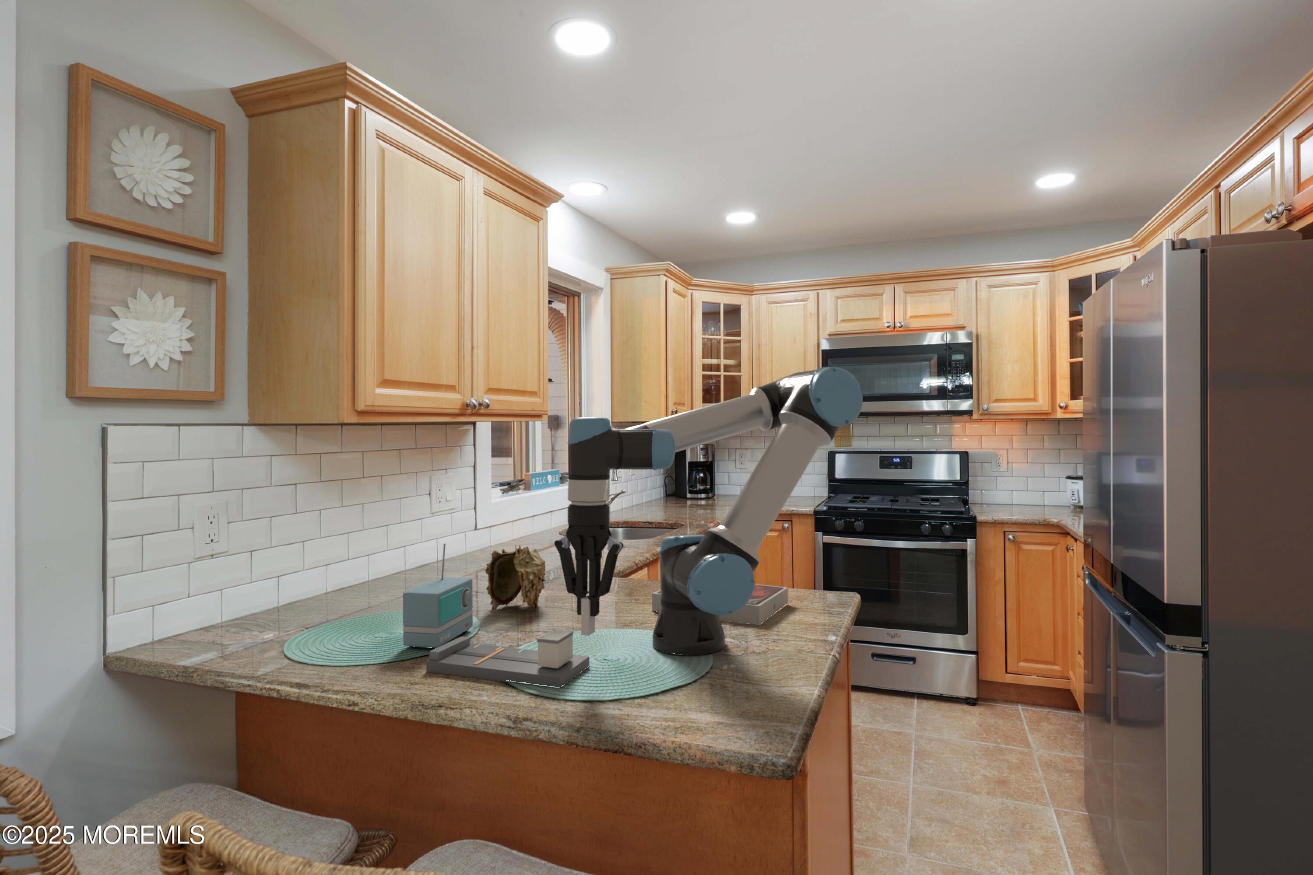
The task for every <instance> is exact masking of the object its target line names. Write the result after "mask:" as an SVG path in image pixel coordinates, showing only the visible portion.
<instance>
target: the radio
mask: <svg viewBox="0 0 1313 875" xmlns="http://www.w3.org/2000/svg"><path fill="white" fill-rule="evenodd" d="M442 549H443V550H442V562H441V563H442V564H441V576H440V577H438V578H436V579H434V580H431V581H429V582H426V583H424V584H422V585H419V586H416V587H414V588H411V589H408V590H407V591H404V592H403V593H402V642H403V643H402V645H403V646H405V647H410V646H415V647H432V648H438V647H440V646H442V645H444V644H446V643H449V642H451V641H452V640H454V639H456V638H457V637H458V636H459V635H461V634H464V633H463V632H466V633H467V632H468V630H470V629H472V628H473V626H474V624H473V622H474V620H473V619H474V618H473V616H474V615H473V610H474V609H473V607H474V606H473V605H474V604H473V603H474V602H473V596H474V595H473V594H474V593H473V579H472V578H470V577H467V578H466V577H447V576H446V577H444V570H445V568H444V567H445V555H446V543H443V548H442Z"/></svg>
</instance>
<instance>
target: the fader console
mask: <svg viewBox="0 0 1313 875" xmlns="http://www.w3.org/2000/svg"><path fill="white" fill-rule="evenodd" d="M425 662H426V663H425V664H426V665H425V666H426V669H425V670H426V672H427V673H428V672H429V673H435V674H443V675H451V676H460V677H465V678H466V677H467V678H472V679H481V680H482V679H483V680H489V681H497V682H503V683H507V682H506V680H509V681H510V680H511V681H516V682H526V683H531V684H539V685H547V686H555V687H561V686H562V685H564V684H566V683H567V682H569V681H570V680H571V679H573V678H574V677H575V676H577V675H578V674H579V673H580V672H581V671H583V670H584V669H585V668H587V667H588V666H589V667H590V656H589V655H582V654H573V658H572V659H571V660H569V661H568V662H566V663H565V664H563V665H562V666H560V667H559V668H551V667H543V666H538V649H537V650H536V649H534V650H533V649H528V648H527V649H526V648H518V647H508V646H507V647H506V646H502V645H501V646H500V645H499V646H498V645H490V644H479V643H472V642H471V637H470V636H460V637H456V638H454V639H452V640H450V641H448V642H446V643H445V644H443V645H442V646H440V647H438V648H436V649H432V650H430V651H429V659H427V660H426V661H425ZM589 667H588V668H589ZM588 668H587V669H588ZM584 671H585V670H584ZM584 671H583V672H584ZM579 675H580V674H579ZM579 675H578V676H579ZM578 676H577V677H578ZM575 678H576V677H575ZM575 678H574V679H575ZM574 679H573V680H574ZM571 681H572V680H571ZM571 681H570V682H571ZM570 682H569V683H570ZM567 684H568V683H567ZM567 684H566V685H567Z"/></svg>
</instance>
